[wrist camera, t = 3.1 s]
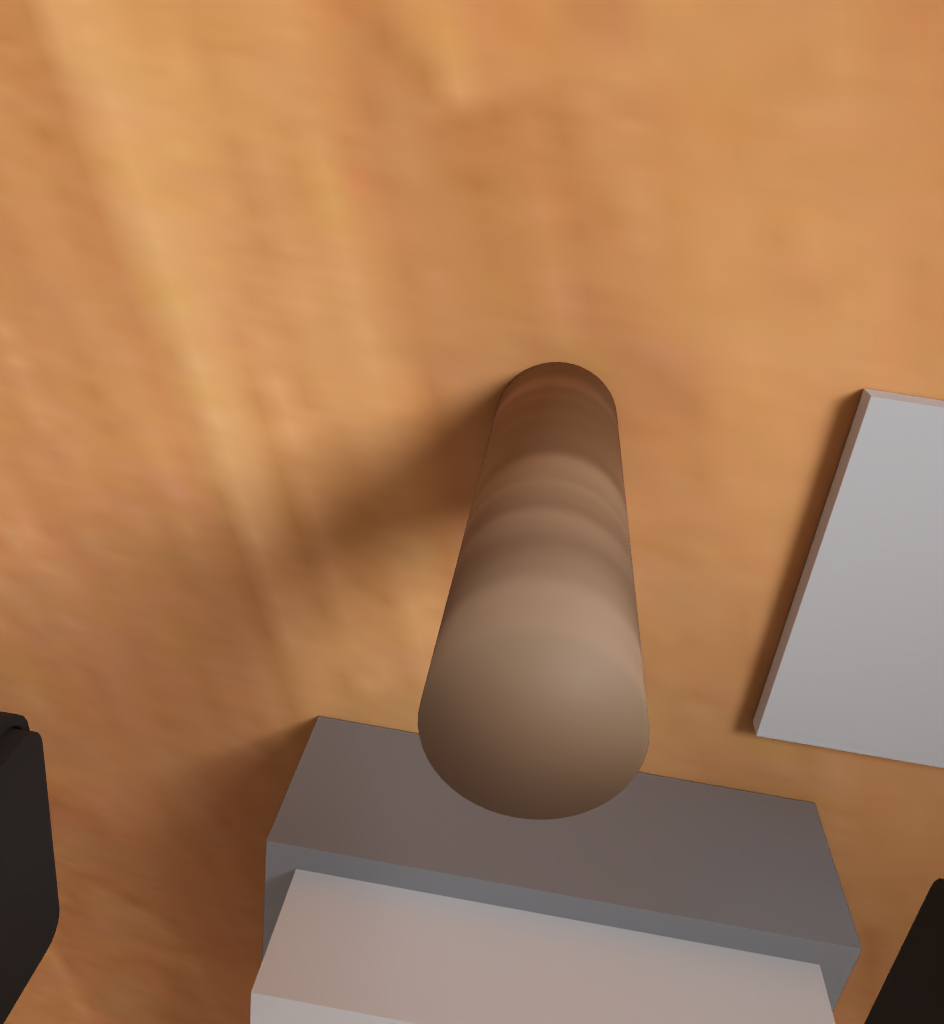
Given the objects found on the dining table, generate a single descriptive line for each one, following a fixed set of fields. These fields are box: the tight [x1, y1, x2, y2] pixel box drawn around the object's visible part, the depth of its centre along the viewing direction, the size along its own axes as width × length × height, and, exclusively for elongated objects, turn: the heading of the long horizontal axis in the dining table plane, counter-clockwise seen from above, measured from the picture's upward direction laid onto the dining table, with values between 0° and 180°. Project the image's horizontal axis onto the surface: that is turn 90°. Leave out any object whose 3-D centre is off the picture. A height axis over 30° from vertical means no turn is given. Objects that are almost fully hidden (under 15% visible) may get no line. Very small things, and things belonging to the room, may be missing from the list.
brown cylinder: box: [418, 362, 649, 820], centre depth 17 cm, size 3×3×12 cm
